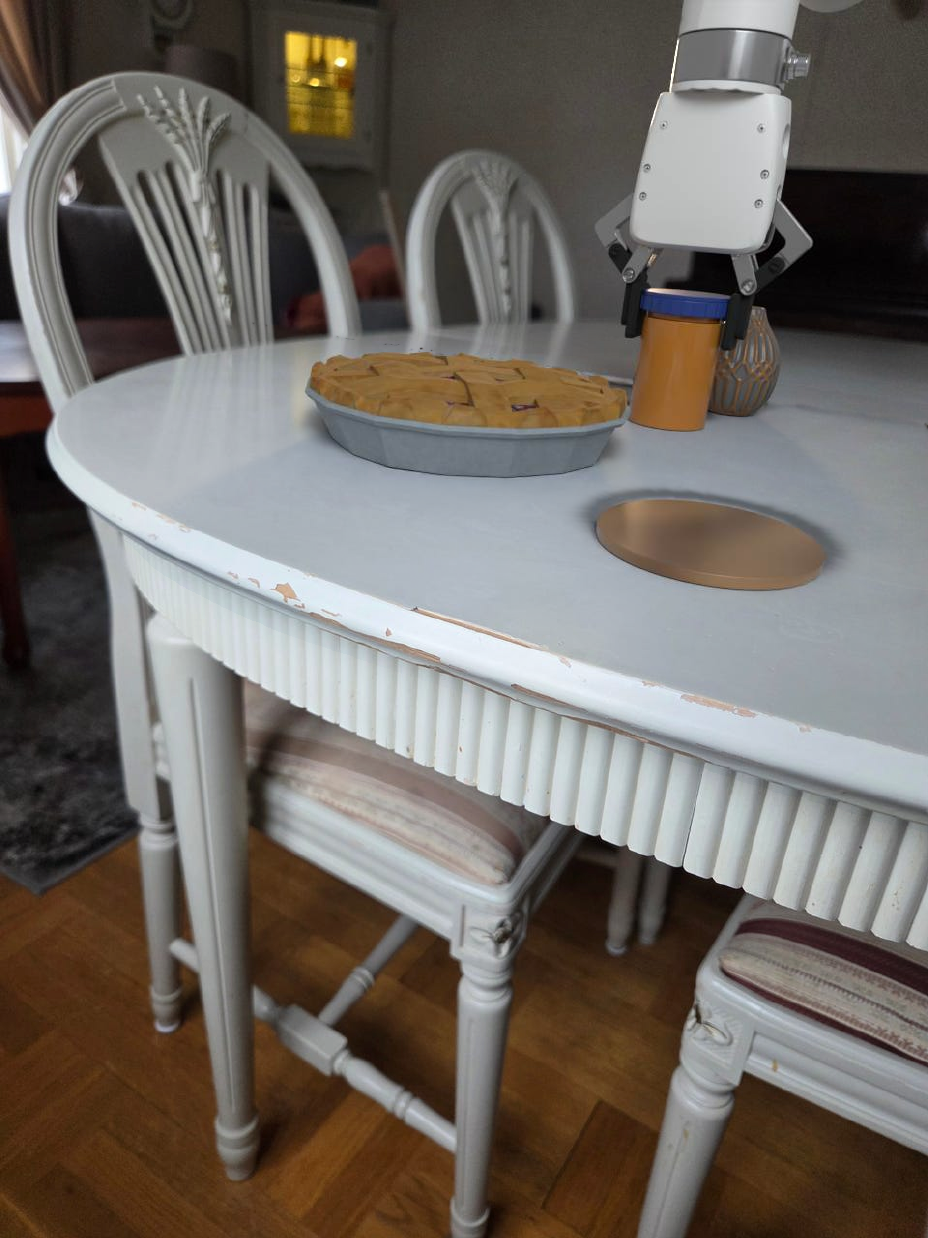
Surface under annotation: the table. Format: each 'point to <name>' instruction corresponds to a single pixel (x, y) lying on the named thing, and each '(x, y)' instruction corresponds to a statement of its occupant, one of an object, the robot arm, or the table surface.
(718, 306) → the lid
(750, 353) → the vase
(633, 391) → the jar
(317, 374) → the pie
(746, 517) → the coaster
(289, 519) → the table surface
